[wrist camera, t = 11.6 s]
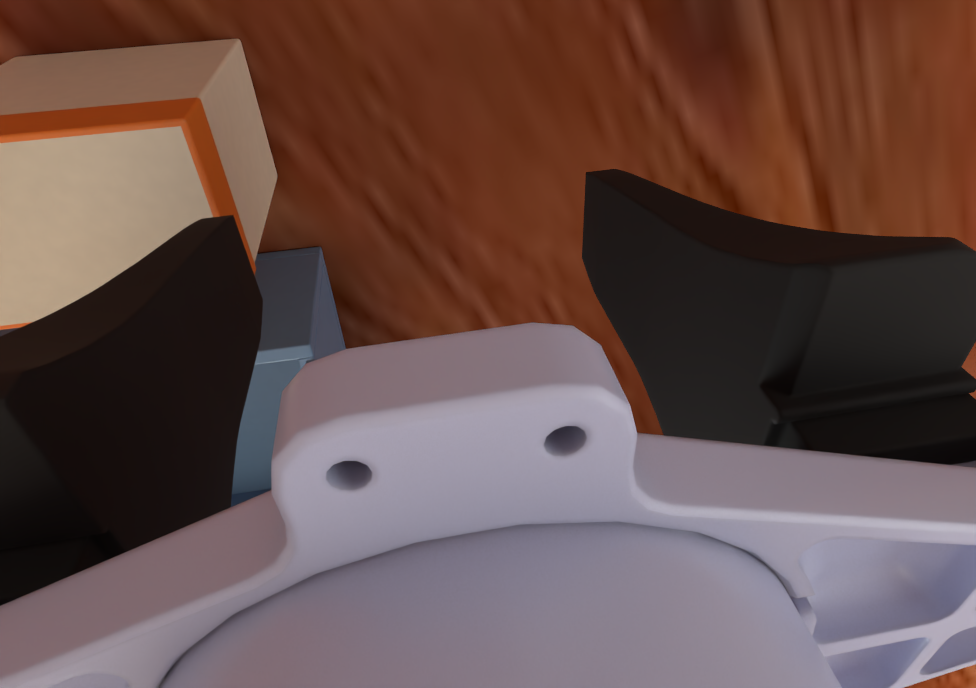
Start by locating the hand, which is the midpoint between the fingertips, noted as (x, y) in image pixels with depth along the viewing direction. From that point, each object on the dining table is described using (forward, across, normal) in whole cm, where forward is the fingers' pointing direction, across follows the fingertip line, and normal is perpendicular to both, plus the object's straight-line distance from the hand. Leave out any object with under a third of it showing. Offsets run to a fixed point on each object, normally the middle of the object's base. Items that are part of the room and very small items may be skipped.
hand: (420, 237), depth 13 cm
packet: (+9, +8, 0) cm, 12 cm away
